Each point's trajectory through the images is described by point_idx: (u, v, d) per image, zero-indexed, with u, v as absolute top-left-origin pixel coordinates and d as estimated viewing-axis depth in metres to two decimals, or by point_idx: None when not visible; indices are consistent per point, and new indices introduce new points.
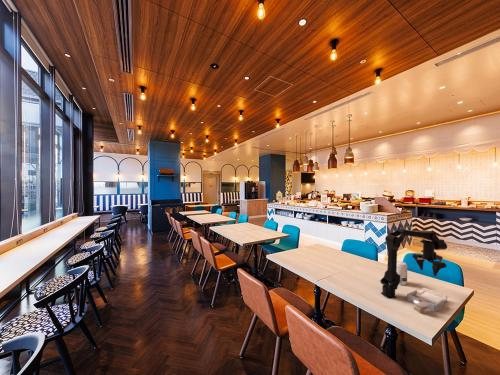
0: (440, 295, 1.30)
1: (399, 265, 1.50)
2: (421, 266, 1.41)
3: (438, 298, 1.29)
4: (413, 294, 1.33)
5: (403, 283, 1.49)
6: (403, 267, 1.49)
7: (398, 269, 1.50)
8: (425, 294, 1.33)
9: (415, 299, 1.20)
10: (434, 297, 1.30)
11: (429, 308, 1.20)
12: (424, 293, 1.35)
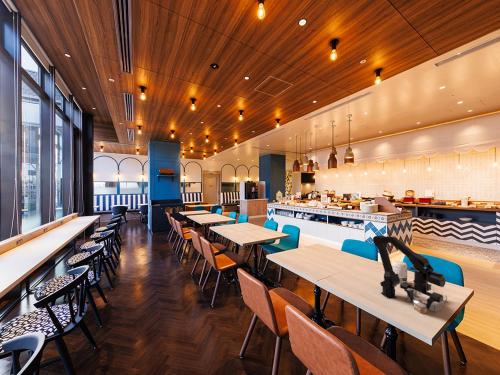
0: None
1: (399, 265, 1.50)
2: (412, 298, 1.22)
3: None
4: None
5: None
6: (403, 267, 1.49)
7: (398, 269, 1.50)
8: None
9: (415, 299, 1.20)
10: None
11: (429, 308, 1.20)
12: None
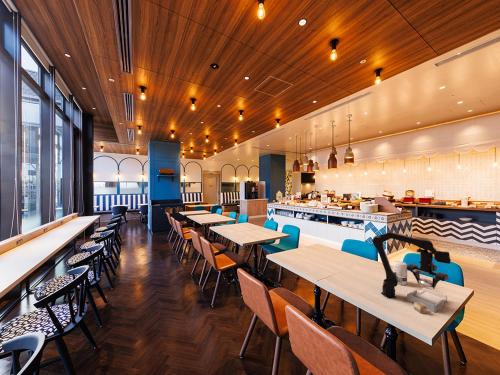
0: (440, 295, 1.30)
1: (399, 265, 1.50)
2: (418, 279, 1.27)
3: (438, 298, 1.29)
4: (413, 294, 1.33)
5: (403, 283, 1.49)
6: (403, 267, 1.49)
7: (398, 269, 1.50)
8: (425, 294, 1.33)
9: (421, 279, 1.25)
10: (434, 297, 1.30)
11: (429, 308, 1.20)
12: (424, 293, 1.35)
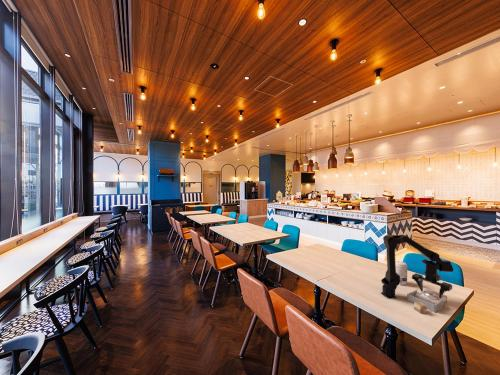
0: None
1: (399, 265, 1.50)
2: (421, 287, 1.34)
3: (438, 298, 1.29)
4: (413, 294, 1.33)
5: (403, 283, 1.49)
6: (403, 267, 1.49)
7: (398, 269, 1.50)
8: None
9: (426, 292, 1.32)
10: None
11: (429, 308, 1.20)
12: None
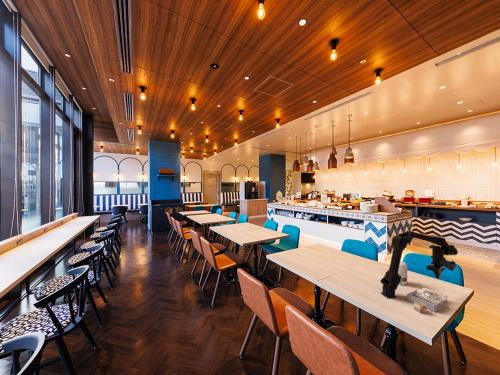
0: (440, 295, 1.30)
1: (399, 265, 1.50)
2: None
3: (438, 298, 1.29)
4: (413, 294, 1.33)
5: (403, 283, 1.49)
6: (403, 267, 1.49)
7: None
8: None
9: (426, 292, 1.32)
10: None
11: (429, 308, 1.20)
12: None
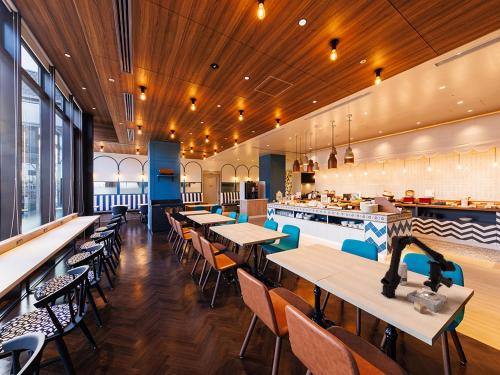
0: (439, 295, 1.30)
1: (399, 265, 1.50)
2: None
3: None
4: (413, 294, 1.33)
5: (403, 283, 1.49)
6: (403, 267, 1.49)
7: (398, 269, 1.50)
8: None
9: (425, 292, 1.32)
10: None
11: (429, 308, 1.20)
12: None
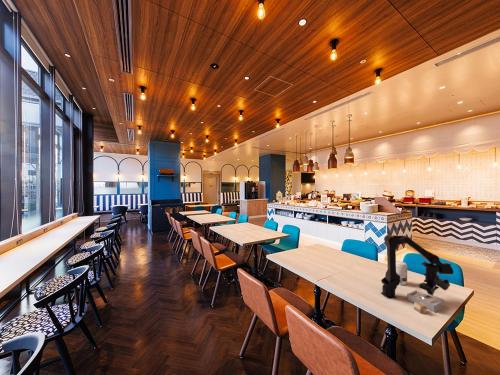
0: (435, 298, 1.27)
1: (399, 265, 1.50)
2: None
3: (433, 301, 1.25)
4: (413, 294, 1.33)
5: (403, 283, 1.49)
6: (403, 267, 1.49)
7: (398, 269, 1.50)
8: None
9: (421, 295, 1.29)
10: None
11: (429, 308, 1.20)
12: None
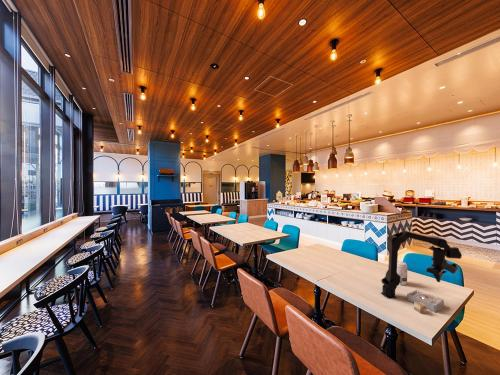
0: (435, 298, 1.27)
1: (399, 265, 1.50)
2: None
3: None
4: (413, 294, 1.33)
5: (403, 283, 1.49)
6: (403, 267, 1.49)
7: (398, 269, 1.50)
8: None
9: (421, 295, 1.29)
10: None
11: (429, 308, 1.20)
12: None
